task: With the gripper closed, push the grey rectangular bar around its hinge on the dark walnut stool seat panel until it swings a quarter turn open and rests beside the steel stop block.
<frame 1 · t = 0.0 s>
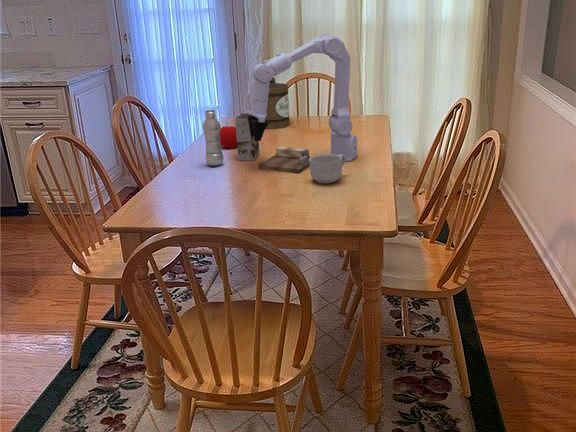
hand: (255, 138, 202), 11 cm above the table, tool pointing down, fingers open, 7 cm apart
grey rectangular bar: (293, 152, 209), point 3 cm above the table, hinge at 0.0°
plastic bottle: (215, 165, 209), on the table
coffee box: (249, 157, 217), on the table
teacup: (329, 180, 189), on the table
stool seat panel: (287, 164, 206), on the table
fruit: (229, 147, 232), on the table
wooden container: (273, 125, 264), on the table
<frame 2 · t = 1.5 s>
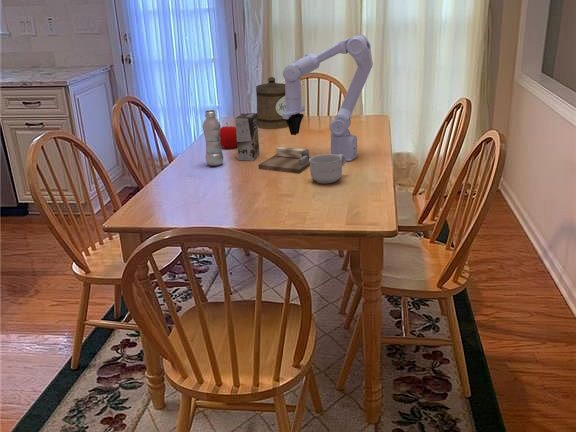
hand: (294, 134, 213), 8 cm above the table, tool pointing down, fingers closed
nothing on the table moved.
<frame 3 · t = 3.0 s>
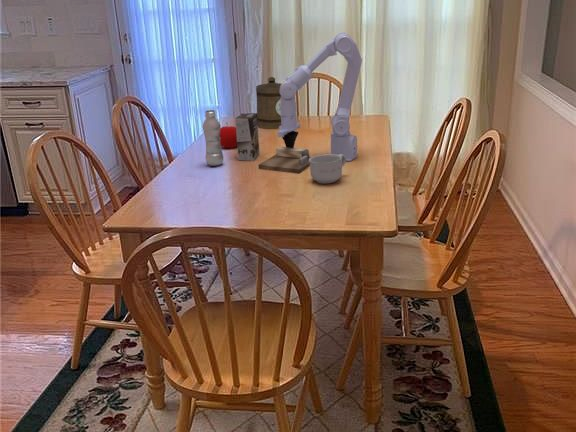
hand: (290, 151, 212), 3 cm above the table, tool pointing down, fingers closed
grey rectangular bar: (293, 152, 209), point 3 cm above the table, hinge at 0.2°, touching gripper
everything else where it was.
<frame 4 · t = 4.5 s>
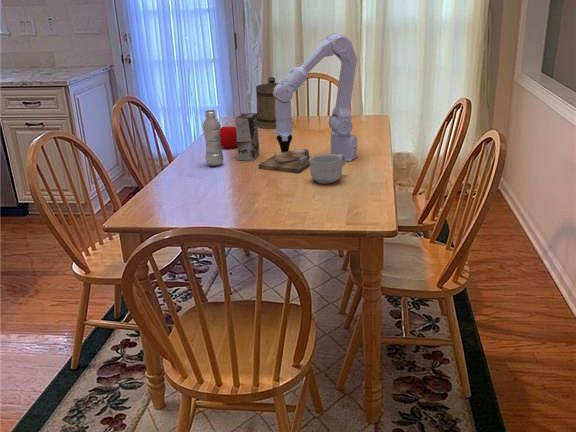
hand: (284, 155, 207), 3 cm above the table, tool pointing down, fingers closed, pressing on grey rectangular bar
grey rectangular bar: (292, 155, 206), point 3 cm above the table, hinge at 45.1°, touching gripper
everything else where it was.
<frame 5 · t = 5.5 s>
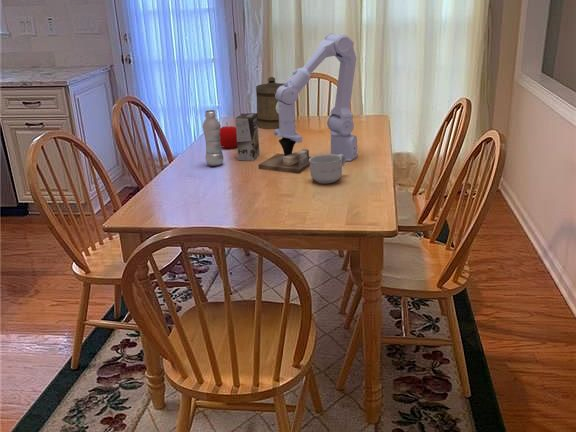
hand: (288, 158, 203), 3 cm above the table, tool pointing down, fingers closed, pressing on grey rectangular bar
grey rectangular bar: (296, 157, 204), point 3 cm above the table, hinge at 78.3°, touching gripper
everything else where it was.
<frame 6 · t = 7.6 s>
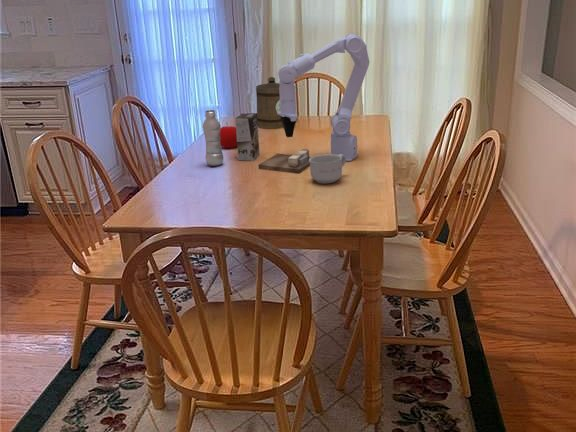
hand: (289, 136, 209), 9 cm above the table, tool pointing down, fingers closed
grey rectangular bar: (299, 157, 203), point 3 cm above the table, hinge at 90.8°
everything else where it was.
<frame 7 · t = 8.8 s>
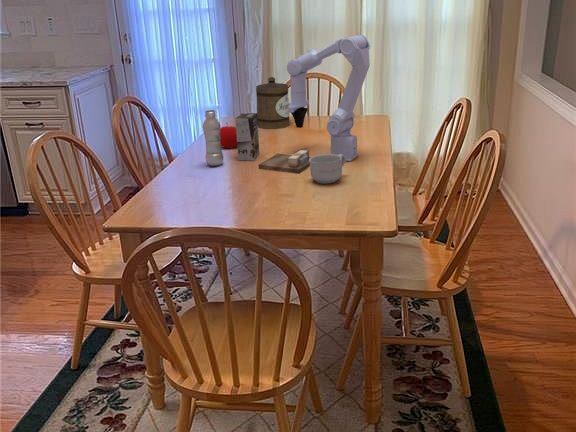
hand: (299, 127, 219), 9 cm above the table, tool pointing down, fingers closed
nothing on the table moved.
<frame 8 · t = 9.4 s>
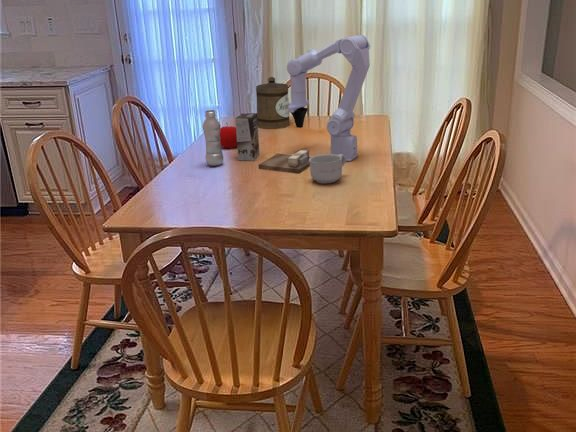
hand: (299, 127, 219), 9 cm above the table, tool pointing down, fingers closed
nothing on the table moved.
at the end: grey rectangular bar at +91° (first picture: +0°) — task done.
